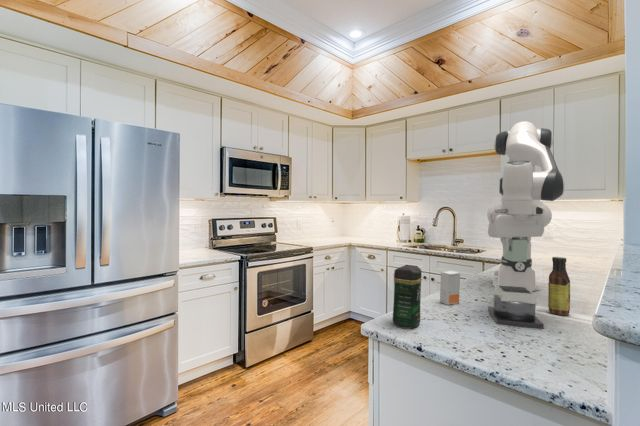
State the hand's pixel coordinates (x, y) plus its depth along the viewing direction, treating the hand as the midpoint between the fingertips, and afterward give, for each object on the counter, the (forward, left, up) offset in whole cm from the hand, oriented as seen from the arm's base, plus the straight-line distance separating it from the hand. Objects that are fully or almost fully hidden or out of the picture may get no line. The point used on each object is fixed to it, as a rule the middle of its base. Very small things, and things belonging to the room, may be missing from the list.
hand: (515, 250), depth 108 cm
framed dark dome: (0, 0, -23) cm, 23 cm away
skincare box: (-12, -19, -23) cm, 32 cm away
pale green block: (0, 0, -3) cm, 3 cm away
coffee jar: (+16, -34, -23) cm, 44 cm away
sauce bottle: (-12, +17, -23) cm, 31 cm away
